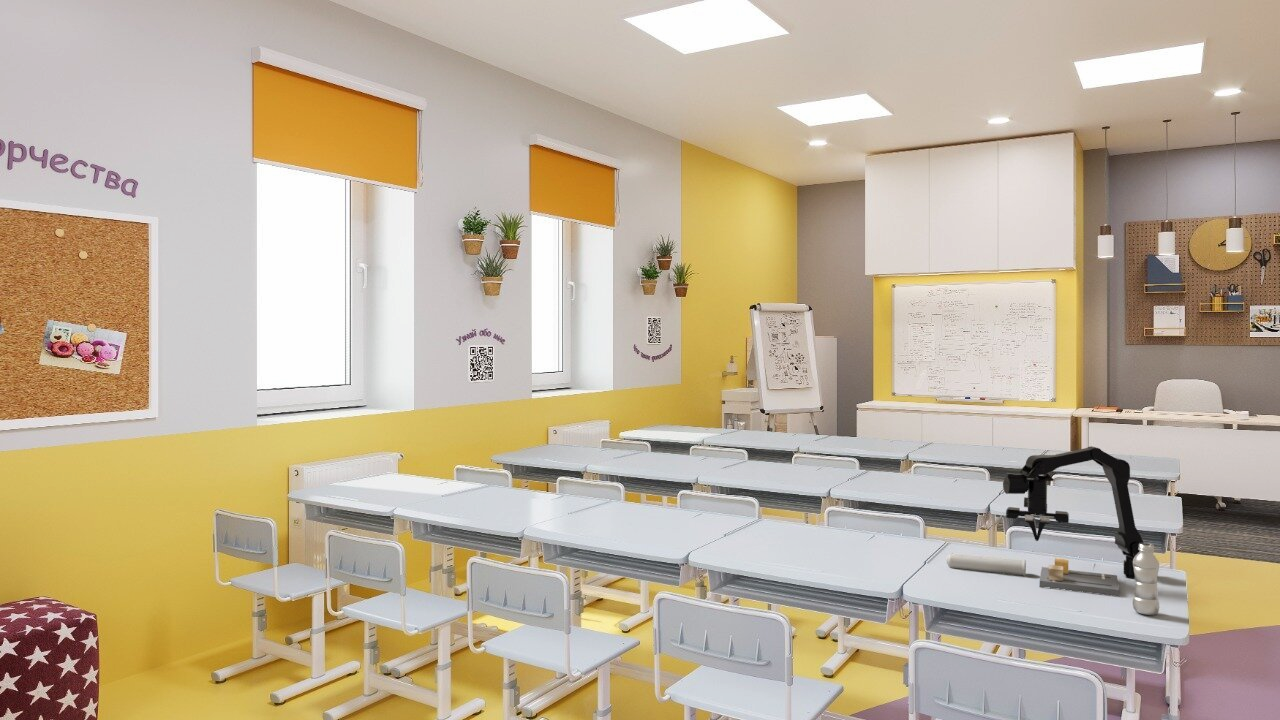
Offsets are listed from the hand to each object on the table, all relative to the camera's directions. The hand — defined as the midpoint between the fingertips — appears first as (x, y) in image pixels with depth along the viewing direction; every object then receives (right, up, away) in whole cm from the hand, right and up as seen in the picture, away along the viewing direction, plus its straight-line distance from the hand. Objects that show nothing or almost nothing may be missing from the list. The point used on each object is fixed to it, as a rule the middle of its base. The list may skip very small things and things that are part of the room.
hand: (1036, 540), depth 278 cm
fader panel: (+9, -12, -10) cm, 18 cm away
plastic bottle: (+13, -13, -39) cm, 43 cm away
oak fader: (+1, -10, -11) cm, 15 cm away
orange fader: (+7, -9, -3) cm, 12 cm away
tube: (-15, -12, +6) cm, 20 cm away
